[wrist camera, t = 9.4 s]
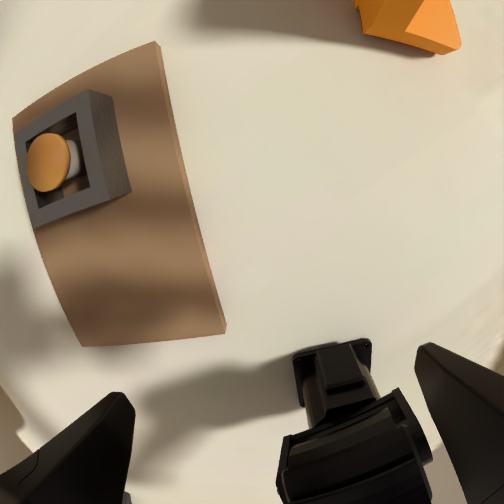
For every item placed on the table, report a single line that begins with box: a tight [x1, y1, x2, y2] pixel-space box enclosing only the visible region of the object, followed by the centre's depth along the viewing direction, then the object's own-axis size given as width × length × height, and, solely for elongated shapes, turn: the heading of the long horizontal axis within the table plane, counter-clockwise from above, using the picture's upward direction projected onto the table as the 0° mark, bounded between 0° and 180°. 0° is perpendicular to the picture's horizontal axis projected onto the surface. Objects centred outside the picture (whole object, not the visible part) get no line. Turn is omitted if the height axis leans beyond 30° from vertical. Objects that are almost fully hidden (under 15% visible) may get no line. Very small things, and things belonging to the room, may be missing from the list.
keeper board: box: [12, 41, 227, 347], centre depth 15 cm, size 20×13×5 cm, turn 12°
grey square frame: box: [14, 89, 132, 228], centre depth 14 cm, size 6×6×3 cm
